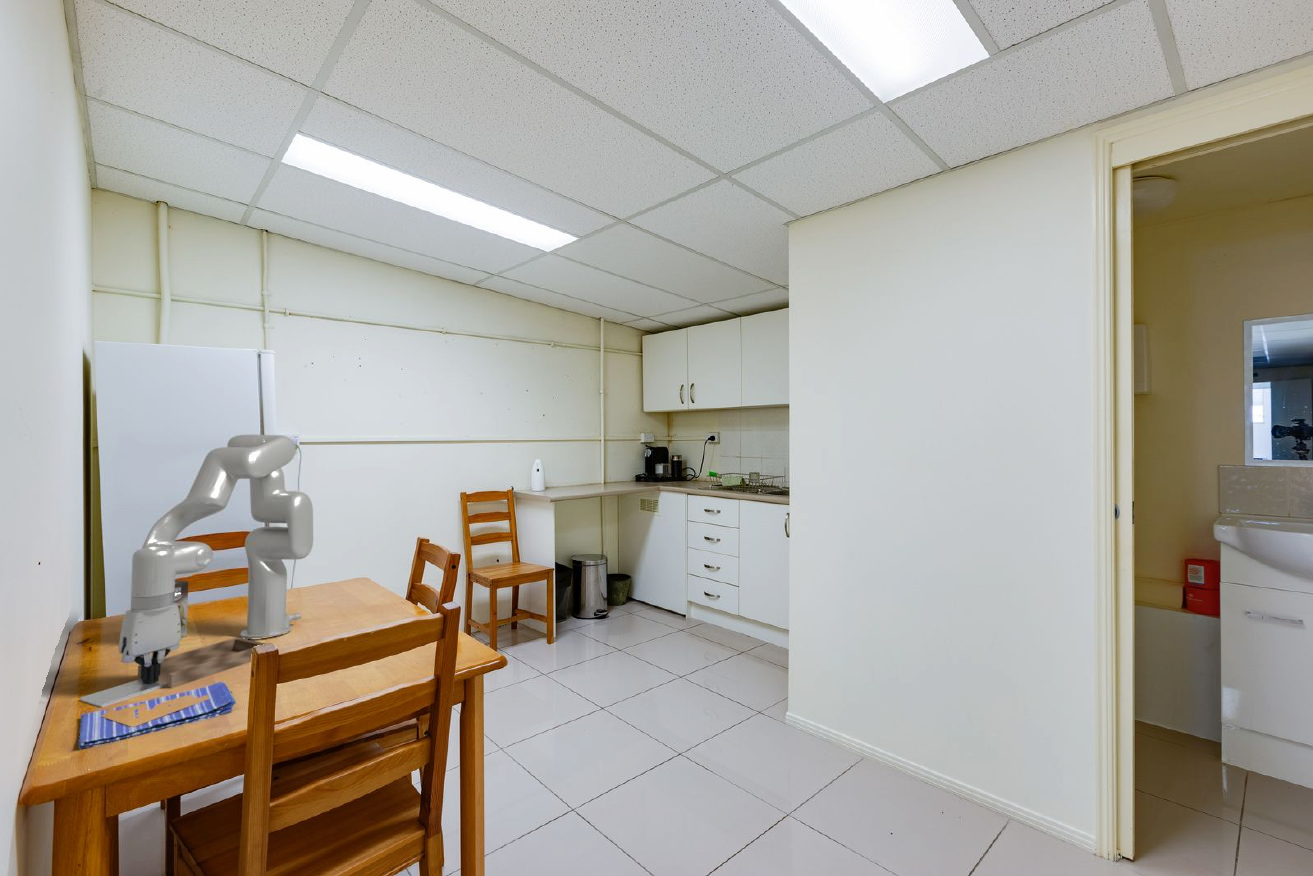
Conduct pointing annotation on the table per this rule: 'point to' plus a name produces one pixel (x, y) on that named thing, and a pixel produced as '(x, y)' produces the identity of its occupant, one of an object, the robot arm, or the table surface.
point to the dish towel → (106, 730)
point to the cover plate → (120, 693)
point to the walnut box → (204, 661)
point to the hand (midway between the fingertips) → (150, 681)
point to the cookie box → (182, 604)
